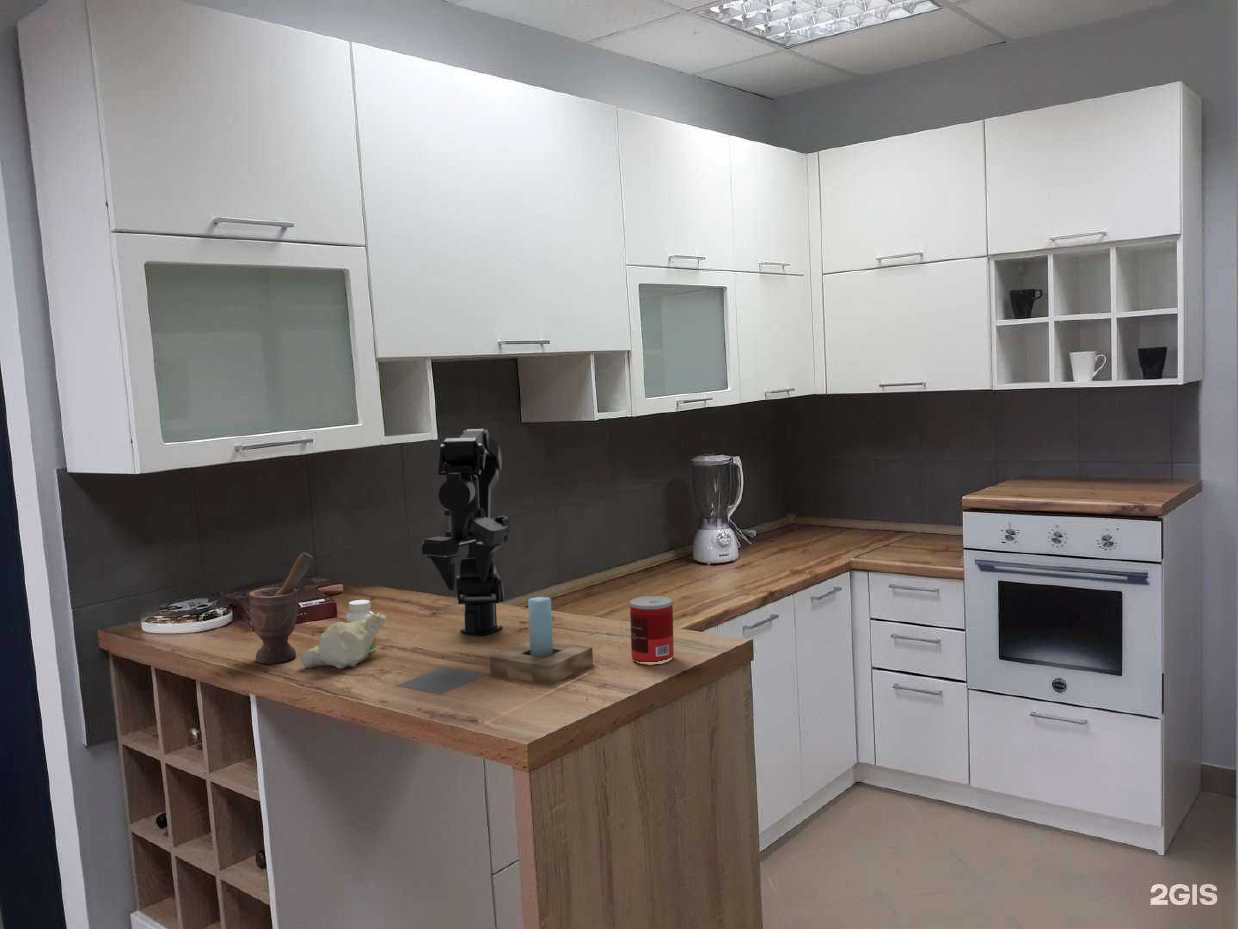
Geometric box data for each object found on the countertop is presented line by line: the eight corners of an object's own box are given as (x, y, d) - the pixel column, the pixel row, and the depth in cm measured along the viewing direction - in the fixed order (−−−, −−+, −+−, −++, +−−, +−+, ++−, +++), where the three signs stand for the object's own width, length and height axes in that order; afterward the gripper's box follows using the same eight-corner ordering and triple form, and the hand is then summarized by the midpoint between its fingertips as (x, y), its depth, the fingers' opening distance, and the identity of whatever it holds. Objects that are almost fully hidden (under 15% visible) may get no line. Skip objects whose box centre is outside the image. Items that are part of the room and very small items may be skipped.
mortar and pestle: (302, 647, 198) (296, 547, 196) (323, 655, 192) (317, 552, 190) (245, 659, 190) (239, 556, 188) (265, 668, 184) (259, 561, 182)
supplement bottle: (368, 655, 191) (365, 605, 190) (342, 654, 192) (339, 604, 191) (381, 647, 196) (378, 599, 195) (356, 646, 197) (353, 598, 196)
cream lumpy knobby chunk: (307, 691, 177) (371, 635, 177) (285, 658, 179) (349, 604, 179) (347, 690, 191) (406, 639, 191) (326, 660, 194) (385, 610, 193)
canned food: (678, 655, 185) (677, 596, 184) (666, 667, 178) (665, 606, 177) (639, 652, 188) (637, 595, 187) (625, 664, 180) (624, 604, 179)
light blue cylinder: (532, 668, 180) (529, 597, 178) (554, 667, 179) (551, 596, 178) (529, 675, 176) (527, 602, 174) (552, 674, 175) (549, 601, 174)
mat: (443, 669, 181) (443, 667, 180) (486, 676, 175) (486, 674, 175) (396, 687, 170) (395, 685, 170) (440, 696, 165) (440, 694, 165)
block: (534, 657, 186) (534, 639, 186) (593, 666, 180) (592, 647, 179) (490, 676, 175) (489, 656, 175) (550, 686, 169) (550, 666, 168)
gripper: (464, 512, 177) (468, 599, 178) (528, 499, 192) (531, 579, 194) (417, 509, 183) (421, 593, 184) (483, 497, 198) (486, 574, 200)
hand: (467, 585), depth 190 cm, fingers open, 9 cm apart
